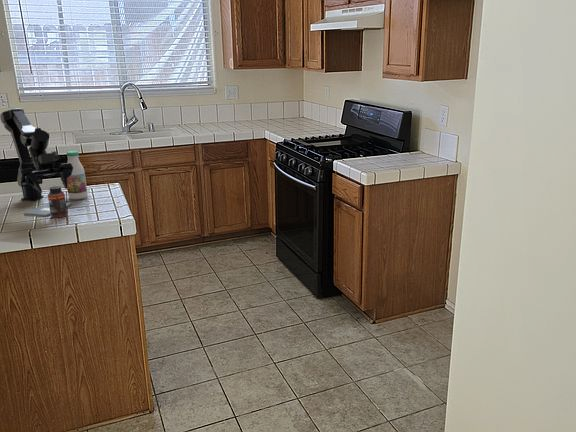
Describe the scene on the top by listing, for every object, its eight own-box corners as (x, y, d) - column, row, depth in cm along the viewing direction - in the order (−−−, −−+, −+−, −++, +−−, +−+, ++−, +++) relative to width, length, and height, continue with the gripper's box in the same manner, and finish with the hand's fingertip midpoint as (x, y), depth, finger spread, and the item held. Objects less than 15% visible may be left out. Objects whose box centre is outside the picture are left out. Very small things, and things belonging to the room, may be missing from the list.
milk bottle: (68, 196, 222) (62, 150, 216) (87, 194, 225) (81, 149, 219) (68, 200, 215) (62, 153, 209) (88, 198, 218) (82, 152, 212)
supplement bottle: (70, 213, 198) (66, 185, 194) (64, 218, 192) (60, 189, 189) (54, 213, 198) (50, 185, 194) (48, 218, 192) (43, 189, 188)
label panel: (24, 214, 196) (23, 212, 196) (51, 203, 211) (51, 201, 211) (46, 216, 194) (46, 214, 194) (72, 205, 209) (72, 203, 208)
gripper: (16, 147, 186) (30, 182, 182) (68, 142, 198) (82, 174, 194) (13, 165, 194) (27, 199, 190) (63, 159, 206) (77, 190, 201)
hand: (54, 190), depth 193 cm, fingers open, 9 cm apart
